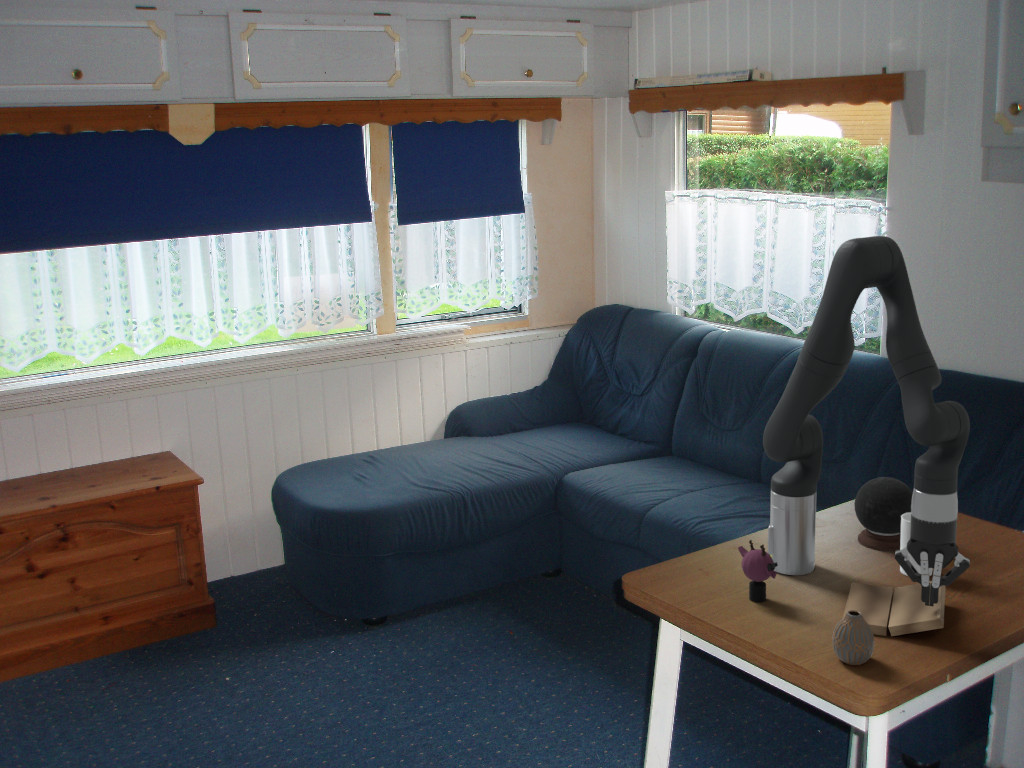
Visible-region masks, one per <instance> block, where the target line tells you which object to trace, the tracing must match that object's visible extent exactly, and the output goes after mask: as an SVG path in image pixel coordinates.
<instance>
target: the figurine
mask: <svg viewBox="0 0 1024 768" xmlns="http://www.w3.org/2000/svg"><path fill="white" fill-rule="evenodd" d="M748 544H750V545H749V547H750V550H749V551H748V550H747V549H746V548H745V547H743V545H741V546H738V547H737V550H738V552H739V554H740V555H741V557H742V560H741V568H742V569H741V570H742V571H743V574H744V575H745V576H746V578H747V579H749V580H751V581H749V584H748V585H749V586H748V587H749V588H748V589H749V591H748V593H749V594H748V599H749V600H750V602H753V601H754V602H753V603H764V602H765V601H767V583H766V582H765V581H767V580H768V579H769V578H772V579H774V580H775V579H776V576H777V574H778V572H776V571H774V569H775V567H776V566H778V565H777V562H776V563H774V562H773V560H772V555H769V554H768V551H766V548H765V544H762V545H760V546H759V548H760V549H759V548H755V547H754V545H753V544H754V543H753V540H752V539H749V541H748Z"/></svg>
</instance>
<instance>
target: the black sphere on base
mask: <svg viewBox="0 0 1024 768" xmlns="http://www.w3.org/2000/svg"><path fill="white" fill-rule="evenodd" d="M912 495H913V490H912V489H911V488H910V487H909V486H908V485H907V484H906V483H905V482H903V481H901V480H900V479H897V478H894V477H891V476H890V477H889V476H879V477H875V478H873V479H870V480H867V482H865V483H864V484H863V485H861V487H860V488H859V490H858V491H857V492H856V496H855V498H854V511H855V512H854V513H855V515H856V518H857V520H858V522H859V523H860V524H861V525H862V526H863V528H864V529H862V531H860V533H859V534H858V535H857V542H858V543H859V545H861V546H863V547H865V548H868V549H871V550H874V551H880V552H896V550H900V540H901V516H902V515H903V514H905V513H910V512H911V505H912Z"/></svg>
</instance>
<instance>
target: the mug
mask: <svg viewBox="0 0 1024 768" xmlns="http://www.w3.org/2000/svg"><path fill="white" fill-rule="evenodd" d="M910 527H911V512H910V513H905V514H903V515H902V516H901V540H900V550H902V549H903V548H905V547H907V543H908V541H909V540H910ZM909 556H910V557H909V561H910V562H911V564H912V565H913V566H914V567H915V569H916V570H917V571H918V573H920V574H921V566H919V565H918V564H917V563H916V561H915V560H914V559H913V557H912V556H911V554H910V553H909ZM933 570H934V569H933V568H929V577H931V576H933ZM899 572H900V573H901V574H902V575H904V576H907V577H909V576H908V575H907V574H906V572H905V571H904V570H903V569H902V567H901V566H900V565H899Z"/></svg>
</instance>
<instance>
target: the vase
mask: <svg viewBox="0 0 1024 768" xmlns="http://www.w3.org/2000/svg"><path fill="white" fill-rule="evenodd" d="M831 639H832V640H831V641H832V647H833V651H834V653H835V655H836V657H837V658H838V659H839V660H841V662H842V663H845V664H847V665H850V666H851V665H852V666H861V665H863V664H864V663H866V662H868V661H869V660H870V658H871V657H872V655H873V653H874V649H875V645H876V644H875V634H873V631H872V629H871V627H870V626H869V624H868V623H867V622H866V621H865V619H864V618H863V616H862V614H861V612H859V611H856V610H850V611H848V612H847V613H846V615H845V616H844V617H843V616H842V618H841V619H840V620H839V621H838V622H837V623H836V625H835V627H834V629H833V632H832V638H831Z"/></svg>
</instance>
